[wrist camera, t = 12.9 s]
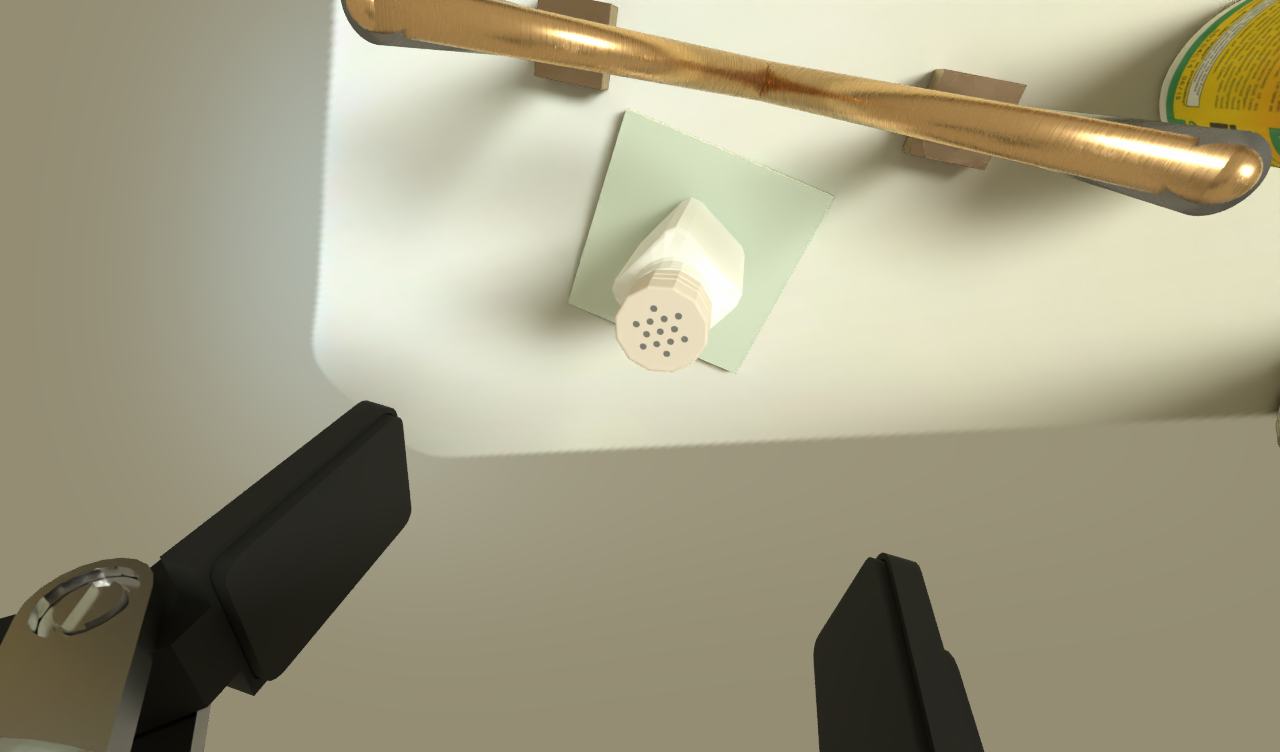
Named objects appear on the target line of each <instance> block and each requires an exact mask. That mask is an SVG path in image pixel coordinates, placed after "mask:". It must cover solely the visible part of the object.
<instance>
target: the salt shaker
mask: <svg viewBox="0 0 1280 752" xmlns="http://www.w3.org/2000/svg"><path fill="white" fill-rule="evenodd" d="M744 259H745V254H744V251H743V248H742V246H741V245H740V244H739V243H738V241H737V240H736V239H735V238H734V237H733V236H732V235H731V234H730V233H729V232H728V230H727V229H726V228H725V227H724V226H723V225H722V224H721V223H720V222H719V221H718V220H717V218H716V217H715V216H714V215H713V214H712V213H711V212H710V211H709V210H708V209H707V207H706V206H705V205H704V204H703V203H702V202H701V201H699V200H697V199H695V198H692V197H691V198H689V199H686V200H684V201H682V202H681V203H680V204H679V205H678V206H677V207H676V208H675V209H674V210H673V211H672V212H671V213H670V214H669V215H668V216H667V217H666V218H665V219H664V220H663V221H662V222H661V223H660V224H659V225H658V226H657V227H656V228H655V229H654V230H653V231H652V232H651V233H650V234H649V235H648V236H647V237H646V238H645V239H644V240H643V241H642V242H641V243H640V245H639V246H638V248H637V249H636V250H635V252H634V253H633V255H632V256H631V257H630V259H629V260H628V262H627V263H626V265H625V266H624V267H623V269H622V270H621V272H620V273H619V275H618V276H617V277H616V279H615V281H614V284H613V287H612V290H613V292H614V295H615V298H616V301H617V302H618V303H619V304H620V305H621V307H620V308H619V310H618V312H617V314H616V315H615V329H616V340H617V341H618V343H619V344H620V346H621V347H622V349H623V350H624V352H625V354H626V355H627V357H628V358H629V359H630V360H632V361H634V362H635V363H637V364H639V365H641V366H642V367H644V368H646V369H647V370H650V371H663V372H674V371H676V370H679V369H681V368H684V367H686V366H688V365H691V364H693V363H694V362H695V361H696V359H697V358H698V357H699V355H700V354H701V353H702V351H703V350H704V349H705V347H706V346H707V343H708V337H709V332H710V329H711V328H712V327H713V326H715V325H716V324H717V323H718V322H719V321H721V320H722V319H723V318H724V317H725V316H726V315H727V314H728V313H730V312H731V311H732V310H733V309H734V308H735V307H736V306H737V304H738V302H739V300H740V298H741V296H742V288H743V274H744Z"/></svg>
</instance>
